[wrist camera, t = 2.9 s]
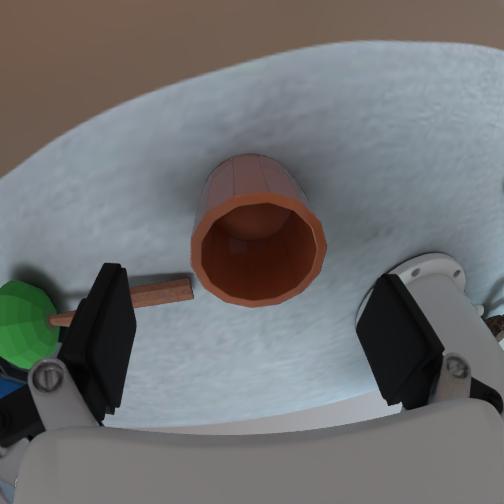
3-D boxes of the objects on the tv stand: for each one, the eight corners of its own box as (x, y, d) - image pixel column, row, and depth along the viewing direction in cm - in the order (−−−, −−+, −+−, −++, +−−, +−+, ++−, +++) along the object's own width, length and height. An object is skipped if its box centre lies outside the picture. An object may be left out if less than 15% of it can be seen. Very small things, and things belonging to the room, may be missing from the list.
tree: (179, 225, 23) (-2, 276, 21) (177, 264, 16) (-41, 317, 14) (200, 304, 26) (29, 339, 24) (208, 362, 19) (3, 387, 17)
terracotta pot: (305, 158, 17) (340, 199, 12) (288, 245, 21) (309, 309, 15) (204, 149, 17) (191, 186, 11) (200, 240, 20) (191, 305, 15)
